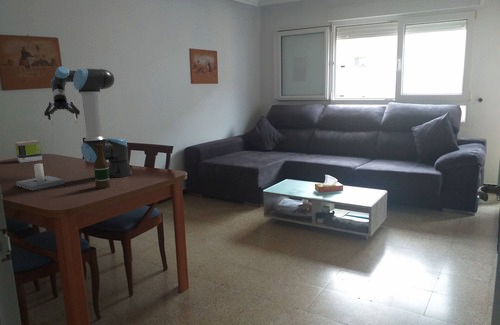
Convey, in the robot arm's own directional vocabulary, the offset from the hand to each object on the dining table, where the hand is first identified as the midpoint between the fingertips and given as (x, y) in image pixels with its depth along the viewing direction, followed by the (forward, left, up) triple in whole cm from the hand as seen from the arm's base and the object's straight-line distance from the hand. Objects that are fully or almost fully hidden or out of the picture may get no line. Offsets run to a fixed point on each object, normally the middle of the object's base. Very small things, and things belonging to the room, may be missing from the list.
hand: (64, 122), depth 240 cm
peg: (-14, +25, -33) cm, 43 cm away
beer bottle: (-48, +8, -33) cm, 59 cm away
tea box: (+68, -8, -33) cm, 76 cm away
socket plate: (-14, +25, -33) cm, 43 cm away
